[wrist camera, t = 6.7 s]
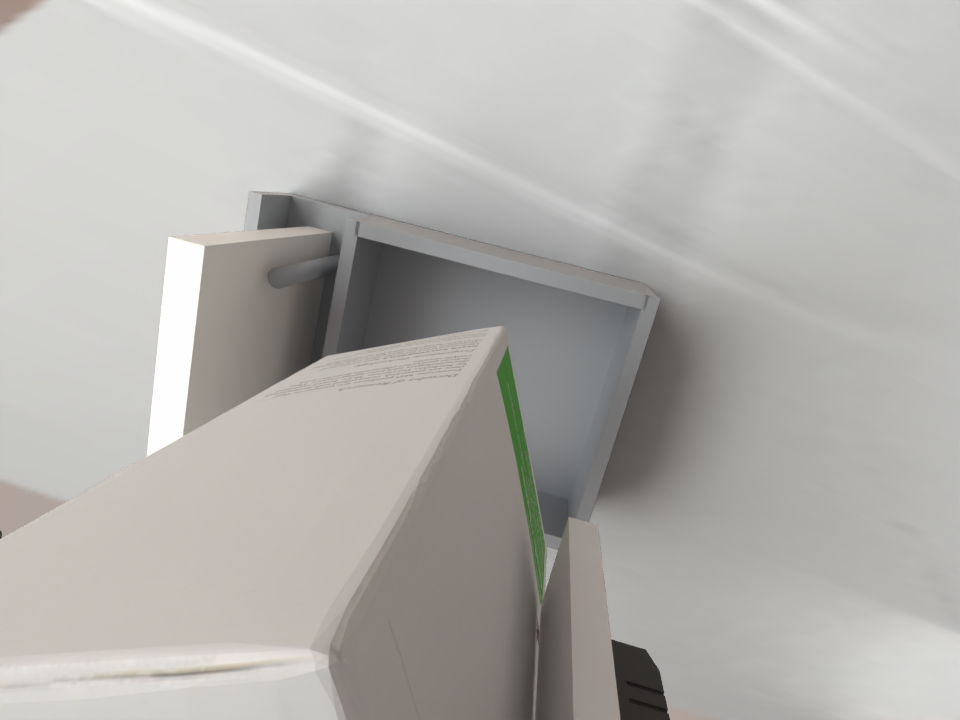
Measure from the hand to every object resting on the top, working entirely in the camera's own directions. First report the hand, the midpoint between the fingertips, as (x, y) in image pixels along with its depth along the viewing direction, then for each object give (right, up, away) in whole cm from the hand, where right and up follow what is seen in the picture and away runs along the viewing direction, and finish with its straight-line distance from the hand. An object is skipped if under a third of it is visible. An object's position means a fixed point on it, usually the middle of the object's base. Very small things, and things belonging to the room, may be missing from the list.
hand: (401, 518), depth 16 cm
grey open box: (0, +4, +15) cm, 16 cm away
